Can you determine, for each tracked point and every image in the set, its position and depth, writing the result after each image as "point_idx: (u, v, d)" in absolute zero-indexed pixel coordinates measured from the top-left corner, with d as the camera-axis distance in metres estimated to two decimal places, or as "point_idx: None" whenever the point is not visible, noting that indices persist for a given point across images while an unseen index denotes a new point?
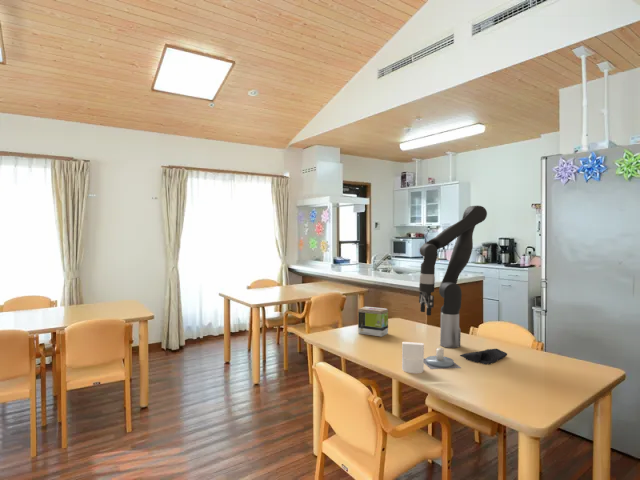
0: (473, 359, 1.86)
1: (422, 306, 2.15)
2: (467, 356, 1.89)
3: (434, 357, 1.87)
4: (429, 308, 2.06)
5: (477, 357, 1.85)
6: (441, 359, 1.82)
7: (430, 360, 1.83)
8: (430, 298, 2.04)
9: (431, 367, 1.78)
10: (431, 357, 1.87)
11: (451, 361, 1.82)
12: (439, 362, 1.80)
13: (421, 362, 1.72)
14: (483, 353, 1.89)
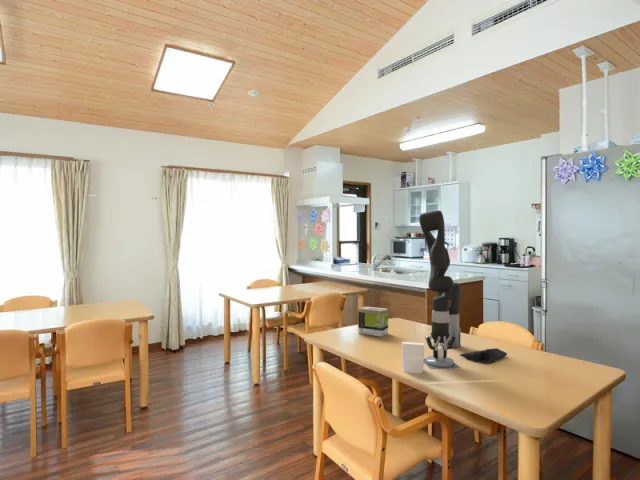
0: (473, 359, 1.87)
1: None
2: (466, 355, 1.89)
3: None
4: (446, 350, 1.84)
5: (476, 357, 1.86)
6: (441, 359, 1.82)
7: (430, 360, 1.83)
8: None
9: (431, 367, 1.78)
10: (431, 357, 1.87)
11: (451, 361, 1.82)
12: (440, 362, 1.80)
13: (421, 362, 1.72)
14: (483, 353, 1.90)
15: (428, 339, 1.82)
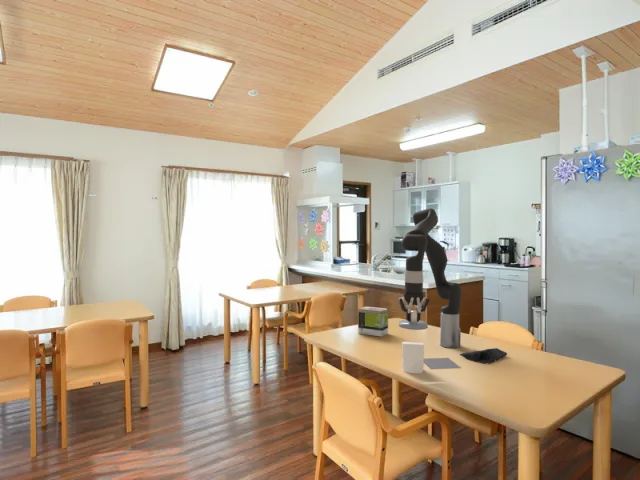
0: (472, 358, 1.87)
1: None
2: (466, 355, 1.90)
3: None
4: None
5: (476, 356, 1.87)
6: (414, 322, 1.73)
7: (403, 323, 1.74)
8: None
9: (431, 367, 1.78)
10: (405, 321, 1.78)
11: (425, 324, 1.72)
12: (412, 324, 1.71)
13: (421, 362, 1.72)
14: (482, 352, 1.90)
15: (401, 300, 1.73)
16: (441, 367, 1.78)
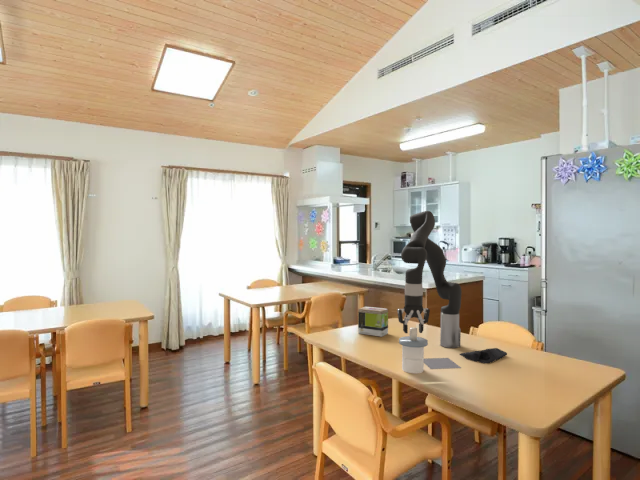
0: (472, 358, 1.87)
1: None
2: (466, 355, 1.90)
3: (408, 337, 1.78)
4: None
5: (476, 356, 1.87)
6: (414, 339, 1.73)
7: (403, 340, 1.74)
8: None
9: (431, 367, 1.78)
10: (405, 337, 1.78)
11: (425, 341, 1.73)
12: (412, 342, 1.71)
13: (421, 362, 1.72)
14: (482, 352, 1.90)
15: (400, 311, 1.73)
16: (441, 367, 1.78)
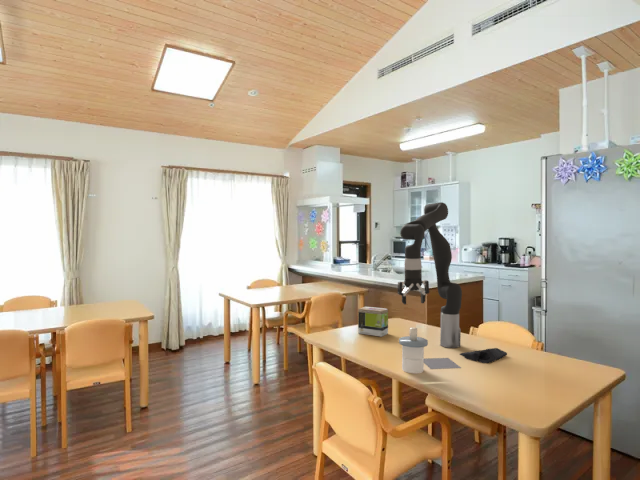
0: (472, 358, 1.88)
1: None
2: (466, 355, 1.91)
3: (408, 337, 1.78)
4: (424, 294, 1.86)
5: (475, 356, 1.87)
6: (414, 339, 1.73)
7: (403, 340, 1.74)
8: None
9: (431, 367, 1.78)
10: (405, 337, 1.78)
11: (425, 341, 1.73)
12: (412, 342, 1.71)
13: (421, 362, 1.72)
14: (482, 352, 1.91)
15: (400, 284, 1.84)
16: (441, 367, 1.78)
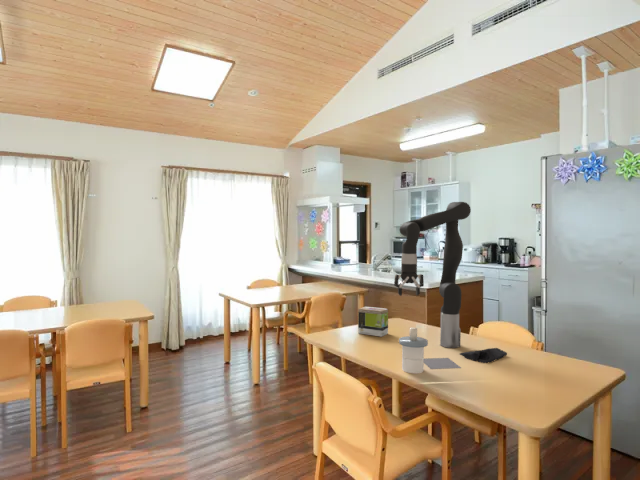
0: (471, 358, 1.88)
1: None
2: (465, 355, 1.91)
3: (408, 337, 1.78)
4: (419, 287, 2.02)
5: (475, 356, 1.88)
6: (414, 339, 1.73)
7: (403, 340, 1.74)
8: None
9: (431, 367, 1.78)
10: (405, 337, 1.78)
11: (425, 341, 1.73)
12: (413, 342, 1.71)
13: (421, 362, 1.72)
14: (482, 352, 1.91)
15: (397, 276, 2.00)
16: (441, 367, 1.78)
